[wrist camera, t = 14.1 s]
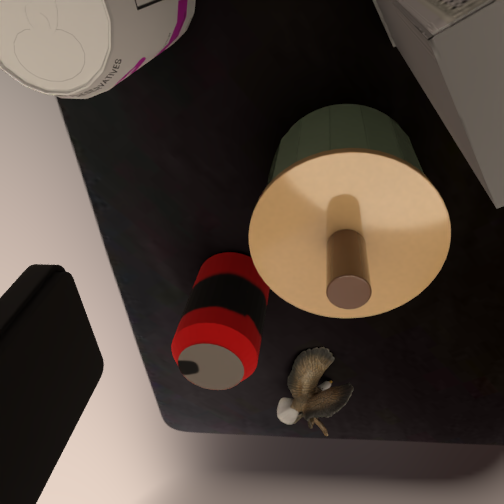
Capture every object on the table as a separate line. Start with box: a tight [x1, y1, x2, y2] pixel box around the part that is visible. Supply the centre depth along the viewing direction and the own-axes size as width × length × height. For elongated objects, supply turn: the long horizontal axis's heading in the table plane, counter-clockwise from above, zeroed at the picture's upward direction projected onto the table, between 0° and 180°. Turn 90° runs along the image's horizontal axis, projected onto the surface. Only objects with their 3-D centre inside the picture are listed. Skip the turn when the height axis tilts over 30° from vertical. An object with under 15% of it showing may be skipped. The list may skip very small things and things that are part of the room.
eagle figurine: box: [277, 347, 354, 436], centre depth 52 cm, size 8×7×9 cm
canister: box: [266, 104, 423, 187], centre depth 35 cm, size 12×12×10 cm
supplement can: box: [0, 0, 195, 99], centre depth 27 cm, size 8×8×15 cm
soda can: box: [171, 252, 270, 390], centre depth 43 cm, size 8×8×12 cm
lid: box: [249, 148, 451, 318], centre depth 29 cm, size 13×13×6 cm
